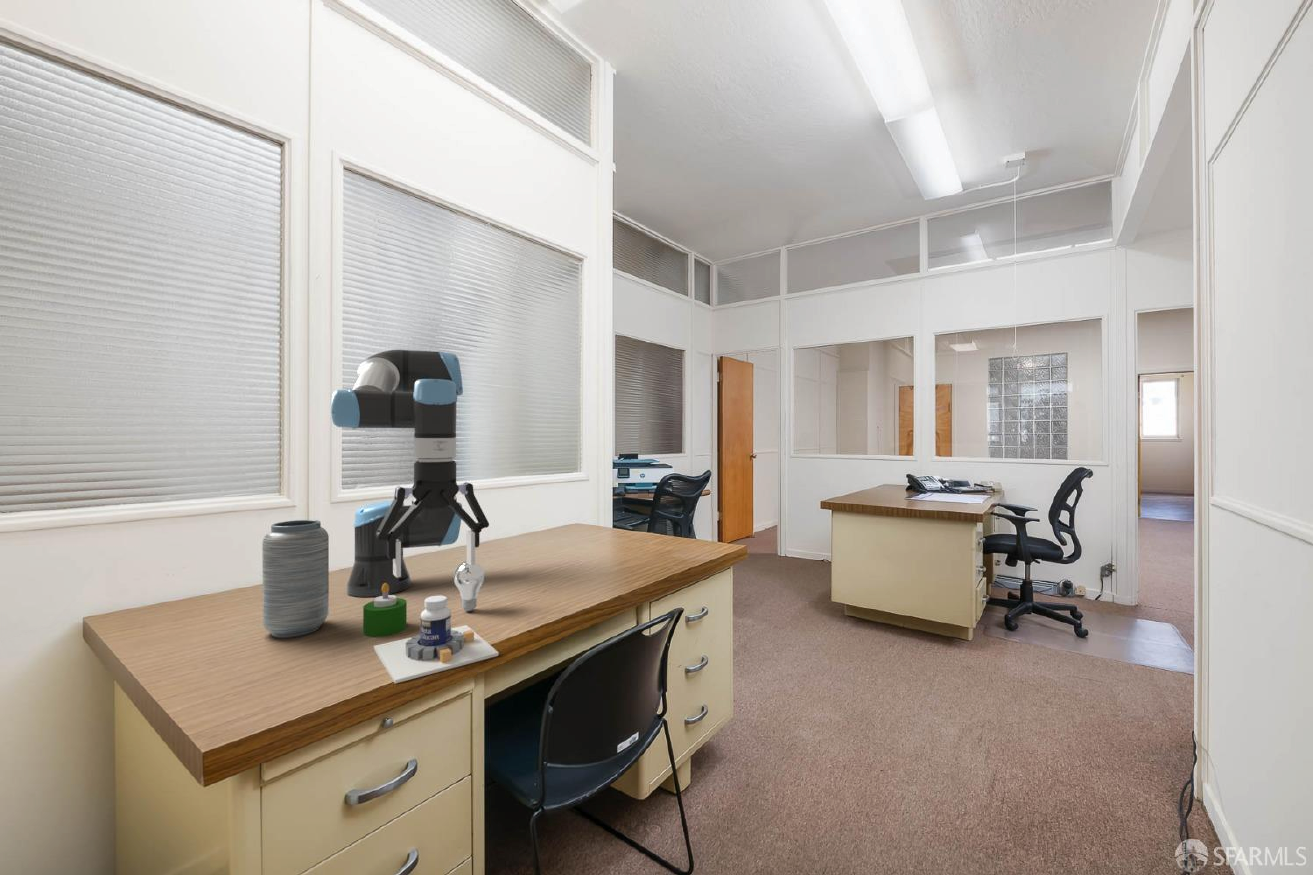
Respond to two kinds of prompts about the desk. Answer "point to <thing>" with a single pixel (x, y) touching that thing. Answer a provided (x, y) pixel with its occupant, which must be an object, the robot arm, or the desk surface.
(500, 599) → the desk surface
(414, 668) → the socket
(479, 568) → the light bulb
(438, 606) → the pill bottle
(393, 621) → the candle
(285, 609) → the vase
